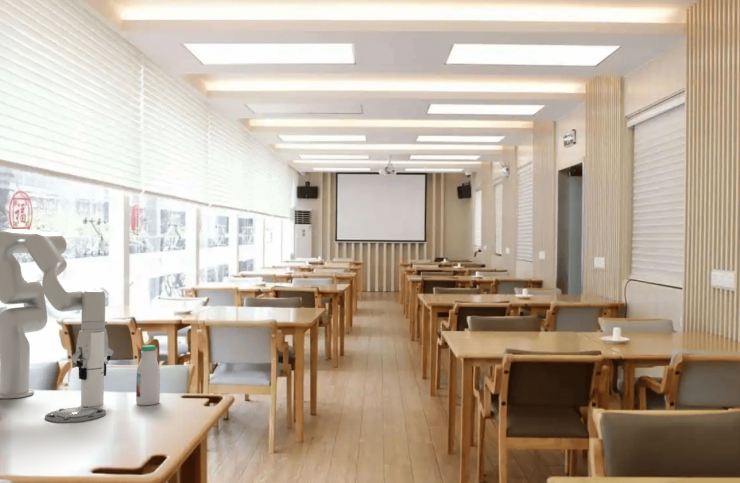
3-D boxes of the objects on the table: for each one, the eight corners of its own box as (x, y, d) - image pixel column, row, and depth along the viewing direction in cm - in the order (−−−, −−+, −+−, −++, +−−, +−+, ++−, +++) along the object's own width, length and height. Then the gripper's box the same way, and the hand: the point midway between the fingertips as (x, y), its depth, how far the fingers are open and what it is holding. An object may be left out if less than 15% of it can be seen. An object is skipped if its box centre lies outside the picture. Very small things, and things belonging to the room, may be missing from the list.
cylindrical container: (76, 405, 231) (77, 331, 231) (93, 400, 238) (94, 329, 238) (90, 407, 228) (91, 333, 228) (108, 403, 234) (108, 331, 234)
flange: (32, 417, 214) (32, 414, 214) (82, 406, 229) (82, 402, 229) (69, 425, 205) (69, 421, 205) (118, 413, 220) (118, 409, 220)
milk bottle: (163, 401, 238) (163, 344, 238) (154, 406, 231) (154, 347, 231) (142, 400, 239) (142, 343, 239) (132, 405, 231) (132, 347, 231)
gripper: (107, 322, 242) (106, 372, 242) (63, 327, 227) (63, 380, 227) (121, 324, 239) (120, 374, 238) (78, 329, 224) (77, 382, 223)
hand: (92, 377), depth 233 cm, fingers closed on cylindrical container, 7 cm apart
